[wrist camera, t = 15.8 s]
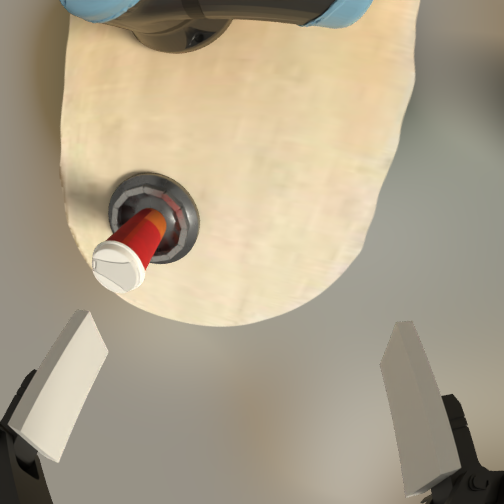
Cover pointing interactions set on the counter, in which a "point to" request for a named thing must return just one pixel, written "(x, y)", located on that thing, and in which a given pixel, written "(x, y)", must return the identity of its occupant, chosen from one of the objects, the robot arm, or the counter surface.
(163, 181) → the rosette plate
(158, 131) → the counter surface
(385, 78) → the counter surface
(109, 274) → the paper cup
